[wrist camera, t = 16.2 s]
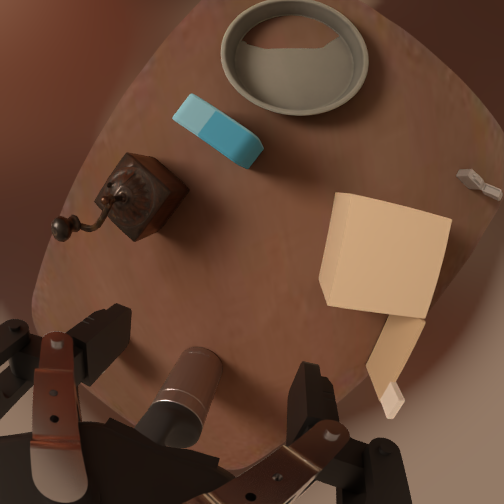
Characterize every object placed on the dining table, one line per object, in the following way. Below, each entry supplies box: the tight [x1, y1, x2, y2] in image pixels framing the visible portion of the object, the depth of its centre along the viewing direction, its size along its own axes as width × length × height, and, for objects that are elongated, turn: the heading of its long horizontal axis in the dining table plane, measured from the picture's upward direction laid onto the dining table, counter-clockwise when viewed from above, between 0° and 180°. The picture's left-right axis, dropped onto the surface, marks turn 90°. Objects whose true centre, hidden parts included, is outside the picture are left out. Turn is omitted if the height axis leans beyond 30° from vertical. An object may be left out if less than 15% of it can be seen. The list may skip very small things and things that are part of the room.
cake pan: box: [221, 0, 369, 116], centre depth 40 cm, size 25×25×4 cm
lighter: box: [456, 169, 503, 201], centre depth 39 cm, size 7×2×8 cm, turn 59°
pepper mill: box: [51, 152, 189, 242], centre depth 42 cm, size 16×11×18 cm
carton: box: [319, 192, 452, 318], centre depth 42 cm, size 15×16×12 cm
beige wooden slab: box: [366, 314, 426, 419], centre depth 43 cm, size 1×16×17 cm, turn 166°
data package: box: [173, 94, 264, 169], centre depth 41 cm, size 12×4×12 cm, turn 52°
